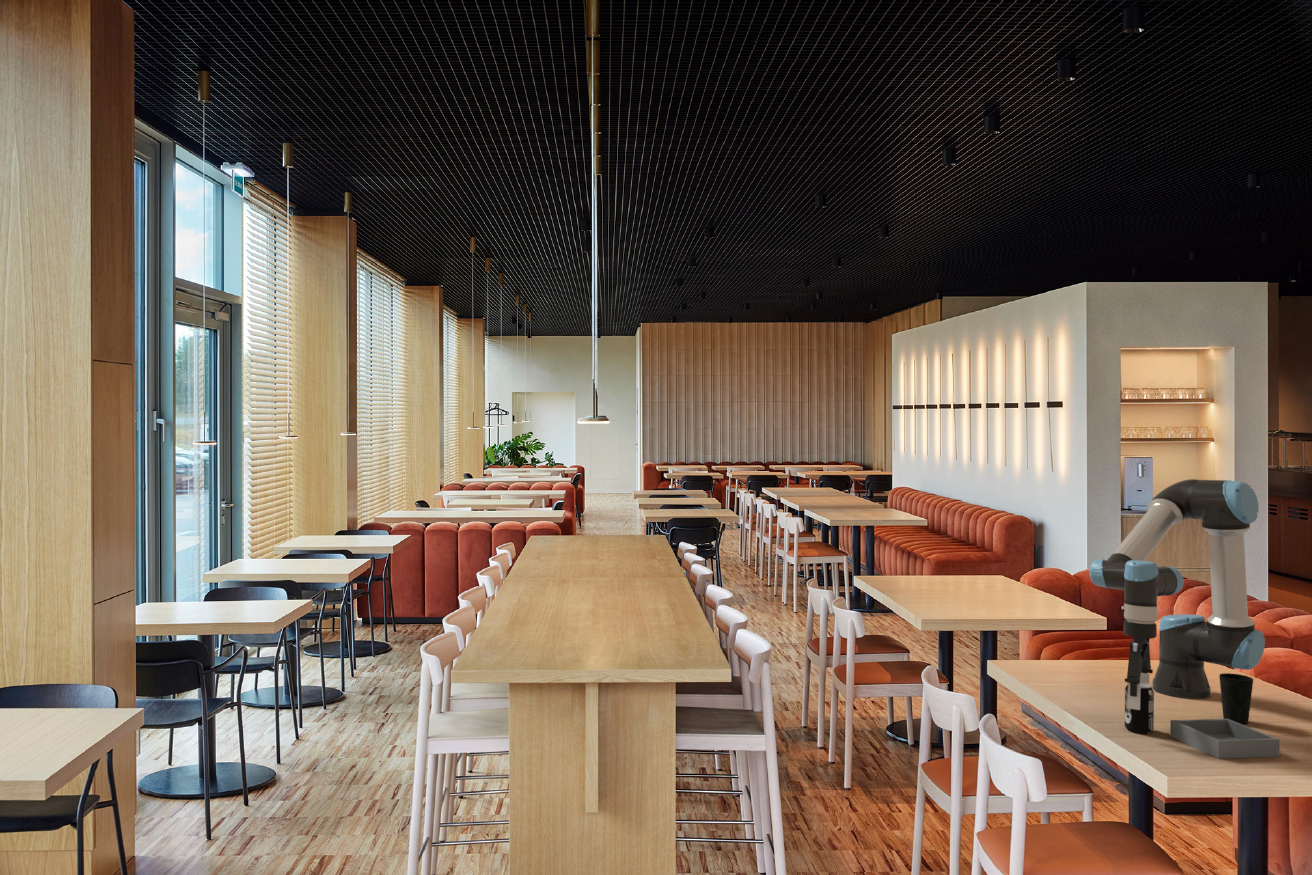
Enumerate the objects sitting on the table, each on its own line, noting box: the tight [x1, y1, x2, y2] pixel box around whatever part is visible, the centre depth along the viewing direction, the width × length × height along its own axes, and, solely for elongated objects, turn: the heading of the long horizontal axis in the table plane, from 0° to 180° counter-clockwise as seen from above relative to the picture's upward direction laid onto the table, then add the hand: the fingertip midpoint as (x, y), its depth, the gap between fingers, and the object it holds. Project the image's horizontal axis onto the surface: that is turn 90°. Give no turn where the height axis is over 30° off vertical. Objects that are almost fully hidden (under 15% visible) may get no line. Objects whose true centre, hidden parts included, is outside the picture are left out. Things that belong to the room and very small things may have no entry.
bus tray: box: [1170, 718, 1280, 760], centre depth 216 cm, size 16×16×4 cm
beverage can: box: [1124, 682, 1155, 735], centre depth 228 cm, size 7×7×12 cm
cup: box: [1218, 672, 1254, 726], centre depth 237 cm, size 8×8×12 cm
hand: (1138, 703), depth 227 cm, fingers open, 13 cm apart
